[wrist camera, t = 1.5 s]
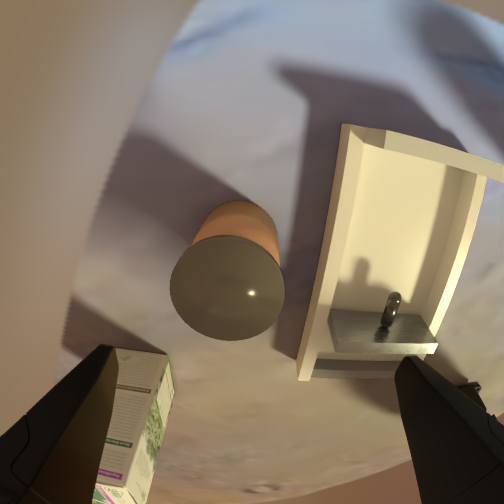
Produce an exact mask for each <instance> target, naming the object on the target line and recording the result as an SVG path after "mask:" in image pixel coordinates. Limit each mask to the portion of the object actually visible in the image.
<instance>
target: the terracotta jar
mask: <svg viewBox="0 0 504 504" xmlns="http://www.w3.org/2000/svg"><path fill="white" fill-rule="evenodd" d="M170 295H171V299H172V302H173V305H174V307H175V309H176V311H177V313H178V314H179V315H180V317H181V318H182V319H183V320H184V321H185V323H187V324H188V325H189V326H190V327H191V328H193V329H194V330H196V331H197V332H199V333H201V334H203V335H205V336H208V337H211V338H214V339H219V340H226V341H237V340H244V339H248V338H251V337H254V336H256V335H258V334H260V333H262V332H264V331H265V330H267V329H268V328H269V327H270V326H271V325H272V324H273V323H274V322H275V321H276V320H277V318H278V316H279V315H280V313H281V310H282V308H283V304H284V299H285V289H284V279H283V274H282V272H281V269H280V262H279V248H278V235H277V229H276V226H275V223H274V221H273V220H272V218H271V217H270V215H269V214H268V213H267V212H266V211H265V210H263V209H262V208H261V207H259V206H257V205H255V204H253V203H250V202H246V201H231V202H227V203H224V204H222V205H220V206H218V207H217V208H215V209H214V210H213V211H212V212H211V213H210V214H209V215H208V216H207V218H206V220H205V221H204V223H203V225H202V227H201V228H200V230H199V232H198V233H197V235H196V237H195V239H194V240H193V242H192V244H191V246H190V247H189V248H188V249H187V250H186V251H185V252H184V253H183V255H182V256H181V257H180V259H179V261H178V262H177V264H176V266H175V268H174V270H173V272H172V275H171V280H170Z"/></svg>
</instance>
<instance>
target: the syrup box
mask: <svg viewBox="0 0 504 504" xmlns="http://www.w3.org/2000/svg"><path fill="white" fill-rule="evenodd" d="M115 350H116V355H117V359H118V363H119V373H118V379H117V385H116V391H115V398H114V405H113V412H112V417H111V421H110V425H109V429H108V433H107V437H106V441H105V445H104V449H103V454H102V458H101V462H100V467H99V471H98V476H97V480H96V485H95V490H94V495H93V500H92V502H94V503H97V504H146V501H147V497H148V493H149V489H150V485H151V481H152V477H153V474H154V470H155V466H156V462H157V458H158V454H159V450H160V447H161V443H162V439H163V435H164V432H165V428H166V425H167V421H168V418H169V414H170V410H171V407H172V403H173V399H174V396H175V390H174V385H173V380H172V375H171V369H170V363H169V358H168V356H167V355H163V354H157V353H150V352H143V351H135V350H127V349H119V348H116V349H115Z"/></svg>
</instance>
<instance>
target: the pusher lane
mask: <svg viewBox="0 0 504 504" xmlns="http://www.w3.org/2000/svg"><path fill="white" fill-rule="evenodd" d="M487 177H488V178H491V179H494V180H497V181H500V182H503V183H504V166H502V165H500V164H497V163H494V162H492V161H489V160H486V159H484V158H481V157H478V156H475V155H472V154H469V153H466V152H463V151H460V150H457V149H454V148H451V147H447V146H444V145H441V144H438V143H434V142H431V141H427V140H424V139H420V138H416V137H413V136H409V135H405V134H401V133H397V132H393V131H389V130H383V129H375V128H367V127H362V126H357V125H352V124H342V126H341V133H340V140H339V147H338V154H337V161H336V167H335V174H334V180H333V186H332V192H331V198H330V204H329V210H328V215H327V221H326V226H325V232H324V237H323V242H322V247H321V252H320V257H319V262H318V267H317V272H316V277H315V282H314V286H313V291H312V295H311V300H310V305H309V309H308V313H307V318H306V322H305V326H304V331H303V335H302V339H301V343H300V347H299V351H298V355H297V359H296V366H297V378H298V381H310V378H311V377H316V378H345V379H394V375H395V371H396V370H397V368H398V366H399V365H400V363H401V361H402V359H403V358H404V357H405V356H409V355H416V356H418V357H419V358H420V359H422V360H424V358H425V356H426V354H370V353H342V352H335V351H334V346H333V342H332V338H331V334H330V330H329V326H328V322H327V319H328V315H329V312H330V309H340V310H353V311H367V312H382V313H383V311H384V309H385V306H386V303H387V300H388V297H389V295H390V293H392V292H394V291H396V292H399V293H400V294H401V297H402V299H401V303H400V305H399V308H398V311H397V313H398V314H416V315H421V317H422V318H423V320H424V322H425V323H426V325H427V326H428V328H429V329H430V331H431V333H432V334H433V336H434V337H435V335H436V333H437V331H438V328H439V326H440V324H441V321H442V319H443V317H444V314H445V312H446V310H447V307H448V305H449V302H450V300H451V297H452V295H453V292H454V289H455V287H456V284H457V281H458V279H459V276H460V273H461V270H462V267H463V264H464V261H465V258H466V255H467V252H468V249H469V246H470V243H471V239H472V236H473V232H474V229H475V225H476V222H477V218H478V214H479V210H480V206H481V202H482V198H483V194H484V189H485V185H486V180H487Z"/></svg>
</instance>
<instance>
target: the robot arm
mask: <svg viewBox="0 0 504 504" xmlns="http://www.w3.org/2000/svg"><path fill="white" fill-rule="evenodd" d="M118 373H119V363H118V359H117V355H116V350H115V347H114V346H112V345H107V344H101V345H99V346H98V347H97V348H96V349H94V350H93V351H92V352H91V353H90V354H89V355H88V356H87V357H86V358H85V359H83V360H82V361H81V362H80V363H79V364H78V365H77V366H76V367H75V368H74V369H73V370H71V371H70V372H69V373H68V374H67V375H66V376H65V377H64V378H63V379H62V380H61V381H60V382H59V383H57V384H56V385H55V386H54V387H53V388H52V389H51V390H50V391H49V392H48V393H47V394H46V395H45V396H44V397H43V398H42V399H40V400H39V401H38V402H37V403H36V404H35V405H34V406H33V407H32V408H31V409H30V410H29V411H28V412H27V413H26V415H23V416H22V417H21V418H20V420H19V421H17V422H16V423H15V424H14V425H13V426H12V427H11V428H10V429H9V430H7V431H6V432H5V433H4V434H3V435H1V436H0V504H92V500H93V495H94V490H95V485H96V480H97V476H98V471H99V467H100V462H101V458H102V454H103V449H104V445H105V441H106V437H107V433H108V429H109V425H110V421H111V417H112V412H113V405H114V398H115V391H116V385H117V379H118ZM394 379H395V385H396V390H397V396H398V401H399V407H400V413H401V418H402V422H403V426H404V429H405V433H406V437H407V441H408V445H409V449H410V453H411V457H412V461H413V465H414V469H415V474H416V479H417V483H418V487H419V492H420V497H421V503H422V504H504V426H503V425H502V424H501V423H500V422H499V421H498V420H497V418H496V416H495V415H494V414H493V415H492V416H491V415H490V414H489V413H487V412H486V407H485V405H484V403H483V402H482V400H481V398H480V396H479V394H478V393H479V391H480V390H481V386H480V385H471V386H463V387H455V386H454V385H453V384H452V383H450V382H449V381H448V380H447V379H445V378H444V377H443V376H442V375H440V374H439V373H438V372H437V371H435V370H434V369H433V368H432V367H430V366H429V365H428V364H427V363H425V362H424V361H423V360H422V359H420V358H419V357H418V356H416V355H409V356H405V357H404V358H403V359H402V361H401V363H400V365H399V366H398V368H397V370H396V371H395V375H394Z"/></svg>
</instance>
